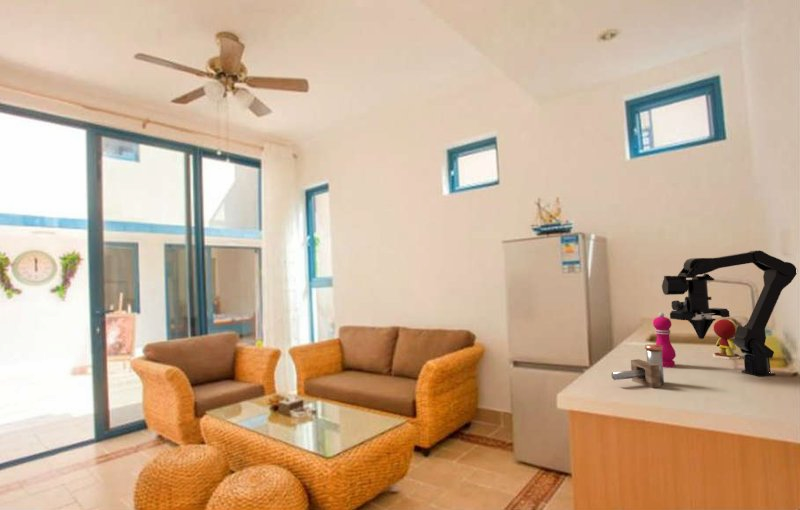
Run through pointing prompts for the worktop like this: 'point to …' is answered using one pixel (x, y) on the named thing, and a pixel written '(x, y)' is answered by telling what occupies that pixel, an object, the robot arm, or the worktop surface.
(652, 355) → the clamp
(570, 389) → the worktop surface
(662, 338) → the pepper mill
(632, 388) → the worktop surface
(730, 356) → the figurine
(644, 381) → the tan wooden block
